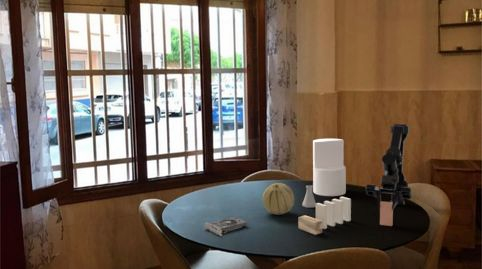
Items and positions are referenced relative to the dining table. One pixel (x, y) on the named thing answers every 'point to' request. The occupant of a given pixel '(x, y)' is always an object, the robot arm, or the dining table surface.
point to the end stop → (310, 224)
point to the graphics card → (225, 225)
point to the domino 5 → (386, 213)
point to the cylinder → (329, 167)
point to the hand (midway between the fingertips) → (385, 208)
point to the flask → (309, 198)
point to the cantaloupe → (278, 198)
